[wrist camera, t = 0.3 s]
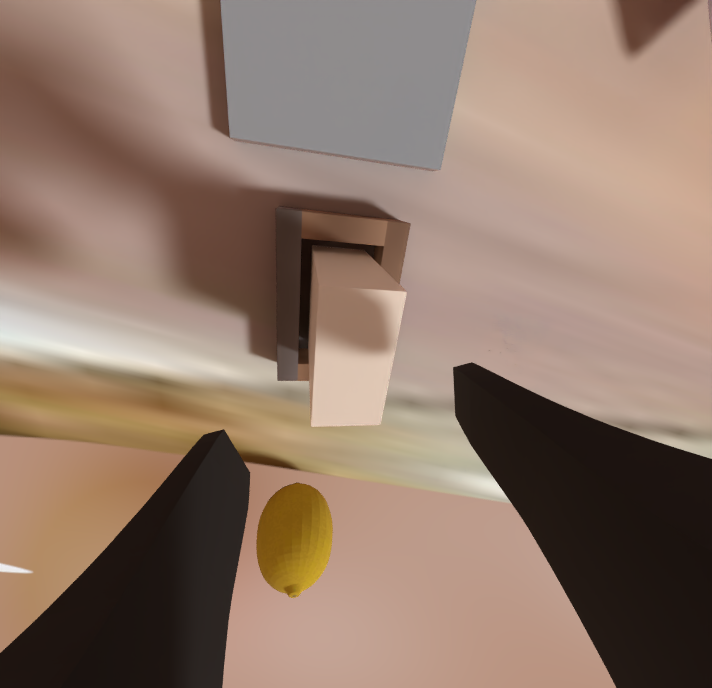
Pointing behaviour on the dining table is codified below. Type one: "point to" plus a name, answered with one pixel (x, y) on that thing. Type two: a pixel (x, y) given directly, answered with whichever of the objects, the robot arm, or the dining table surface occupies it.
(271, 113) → the tile
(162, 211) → the dining table surface
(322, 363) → the tan rectangular post
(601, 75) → the dining table surface
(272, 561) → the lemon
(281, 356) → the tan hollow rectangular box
